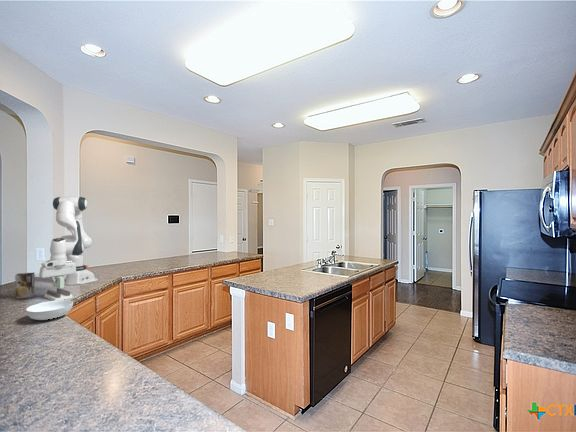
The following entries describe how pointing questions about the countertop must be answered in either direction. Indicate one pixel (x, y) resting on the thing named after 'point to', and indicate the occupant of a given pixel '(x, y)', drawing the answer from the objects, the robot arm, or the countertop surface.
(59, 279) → the door panel
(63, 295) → the floor track
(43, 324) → the countertop surface
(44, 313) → the serving bowl
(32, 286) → the coffee box
